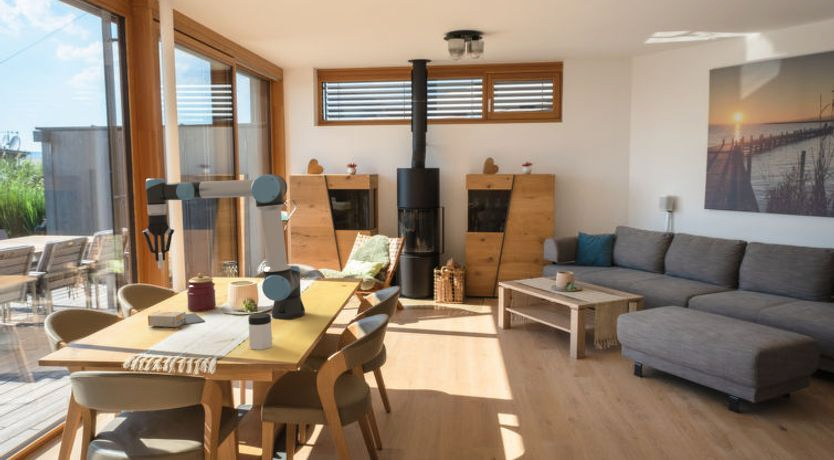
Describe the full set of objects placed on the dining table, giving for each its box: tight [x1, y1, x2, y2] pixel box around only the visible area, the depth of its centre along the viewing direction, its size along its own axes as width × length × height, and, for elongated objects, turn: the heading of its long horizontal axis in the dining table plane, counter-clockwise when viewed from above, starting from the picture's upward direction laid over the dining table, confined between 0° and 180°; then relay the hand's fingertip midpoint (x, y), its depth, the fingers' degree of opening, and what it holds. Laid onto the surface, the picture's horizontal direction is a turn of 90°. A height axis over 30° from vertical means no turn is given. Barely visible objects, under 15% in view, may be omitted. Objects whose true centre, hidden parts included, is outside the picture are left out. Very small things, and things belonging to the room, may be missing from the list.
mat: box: [161, 312, 206, 329], centre depth 261 cm, size 18×17×1 cm
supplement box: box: [147, 310, 187, 328], centre depth 253 cm, size 8×5×13 cm
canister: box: [186, 272, 217, 312], centre depth 283 cm, size 13×13×18 cm
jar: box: [248, 312, 273, 351], centre depth 220 cm, size 9×8×12 cm
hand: (160, 268), depth 255 cm, fingers closed
